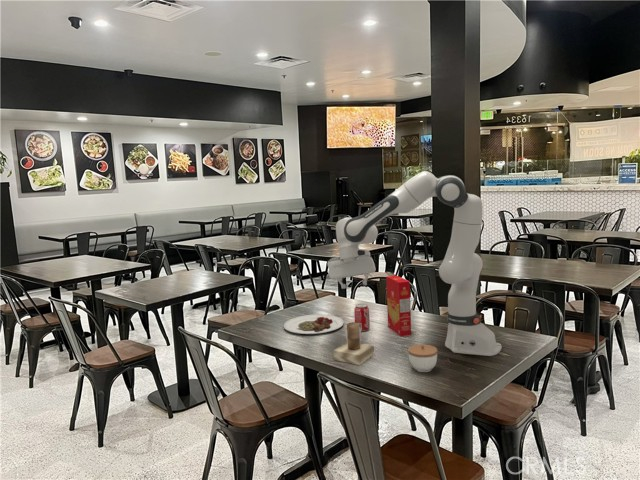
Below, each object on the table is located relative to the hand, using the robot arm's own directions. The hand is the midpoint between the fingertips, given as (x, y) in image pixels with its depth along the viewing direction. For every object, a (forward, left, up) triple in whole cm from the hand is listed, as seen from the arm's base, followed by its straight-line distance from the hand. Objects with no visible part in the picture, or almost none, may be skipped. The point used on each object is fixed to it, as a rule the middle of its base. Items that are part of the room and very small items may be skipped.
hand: (354, 286), depth 204 cm
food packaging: (-8, -26, -27) cm, 38 cm away
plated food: (+33, -14, -27) cm, 45 cm away
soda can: (+9, -20, -27) cm, 35 cm away
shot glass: (+2, -1, -27) cm, 27 cm away
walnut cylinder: (-6, +12, -22) cm, 26 cm away
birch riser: (-6, +12, -26) cm, 30 cm away
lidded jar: (-35, +10, -27) cm, 45 cm away
